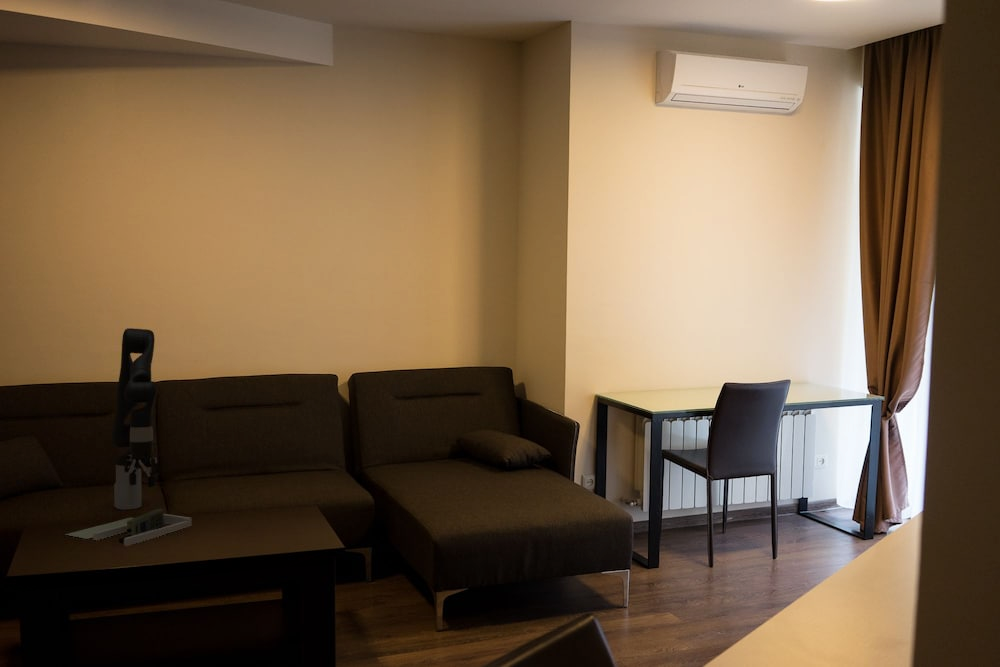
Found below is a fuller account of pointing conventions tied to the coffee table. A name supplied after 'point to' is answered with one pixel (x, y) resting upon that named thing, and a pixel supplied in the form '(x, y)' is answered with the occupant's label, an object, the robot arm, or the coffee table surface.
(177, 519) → the white u-shaped frame
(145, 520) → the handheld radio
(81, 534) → the green mat
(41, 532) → the coffee table surface
